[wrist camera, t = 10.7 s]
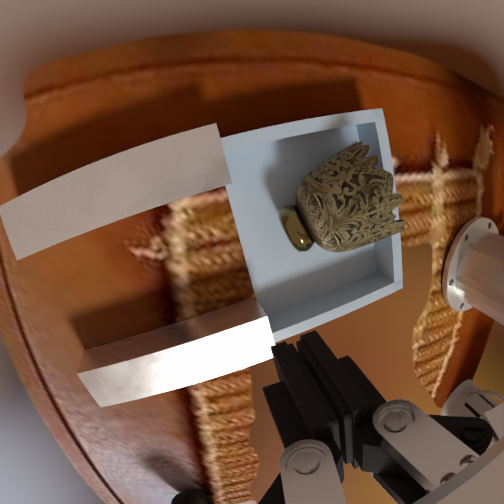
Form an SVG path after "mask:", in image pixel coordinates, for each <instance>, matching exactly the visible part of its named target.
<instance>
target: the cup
mask: <svg viewBox="0 0 504 504" xmlns="http://www.w3.org/2000/svg"><path fill="white" fill-rule="evenodd" d="M357 142H358V141H355V142H353V144H352V145H349V146H348V147H346V148H345V149H343V150H341V151H340V152H338V153H337V154H335V155H334V156H332V157H330V158H329V159H327V160H326V161H324V162H323V163H321V164H320V165H318V166H317V167H316V168H314V169H313V170H312V171H310V172H309V173H308V174H307V175H306V176H305V177H304V178H303V179H302V180H301V182H300V183H299V185H298V187H297V190H296V195H295V200H296V205H292V204H291V205H285V206H283V208H282V209H281V210H280V211H279V214H278V218H279V221H280V224H281V226H282V228H283V230H284V232H285V234H286V236H287V238H288V240H289V242H290V243H291V245H292V247H293V248H294V249H295V250H296V251H298V252H306V251H308V250H310V249H311V247H312V246H313V245H314V243H316V244H317V245H319V246H320V247H321V248H323V249H324V250H327V251H330V252H346V251H350V250H354V249H357V248H360V247H363V246H366V245H368V244H371V243H374V242H376V241H379V240H381V239H384V238H387V237H389V236H392V235H394V234H397V233H399V232H403V231H404V229H403V228H402V227H403V226H404V225H405V224H406V222H405V221H404V220H403V219H402V220H395V218H396V217H397V216H395V214H394V213H393V209H394V208H395V209H396V208H397V207H398V206H400V205H401V203H402V200H403V198H402V196H401V195H399V194H397V193H394V194H392V193H393V184H394V179H393V175H392V174H391V173H390V172H388V171H386V170H383V169H378V168H377V167H376V166H375V167H376V168H375V167H374V165H377V164H378V155H377V154H375V155H372V156H369V157H365V156H366V155H367V153H368V151H369V145H361V144H363V141H361V142H358V143H357ZM395 209H394V210H395Z"/></svg>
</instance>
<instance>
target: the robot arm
mask: <svg viewBox="0 0 504 504" xmlns="http://www.w3.org/2000/svg"><path fill="white" fill-rule="evenodd" d="M442 289H443V296H444V299H445V301H446V303H447V304H448V305H449V306H450V307H451V308H453V309H454V310H456V311H466V310H468V309H470V308H472V307H474V308H476V309H478V310H479V311H481V312H483V313H484V314H486V315H488V316H489V317H491V318H493V319H494V320H496V321H498V322H499V323H501V324H503V325H504V236H501V235H499V232H498V229H497V227H496V225H495V223H494V222H493V221H492V220H491V219H489V218H486V217H482V216H479V217H475V218H473V219H471V220H469V221H468V222H467V223H466V224H465V225H464V226H463V227H462V228H461V230H460V231H459V233H458V234H457V236H456V237H455V239H454V241H453V243H452V245H451V247H450V250H449V252H448V255H447V258H446V262H445V266H444V271H443V279H442ZM300 339H301V340H299V341H297V342H296V345H297V349H298V352H297V350H296V348H295V347H294V345H293V344H292V343H291V344H288V345H287V343H286V342H282V343H279V344H276V345H273V346H270V348H271V352H272V356H273V359H274V363H275V366H276V369H277V373H278V377H279V380H280V382H278V383H275V384H272V385H269V386H266V387H263V388H262V389H263V392H264V395H265V398H266V401H267V403H268V406H269V409H270V412H271V414H272V417H273V420H274V422H275V425H276V427H277V430H278V432H279V435H280V437H281V440H282V443H283V445H284V448H285V450H284V451H283V453H282V455H281V457H280V463H279V466H280V473H279V475H278V476H277V478H276V479H275V481H274V482H273V484H272V485H271V487H270V488H269V489H268V491H267V492H266V494H265V495H264V496H263V498H262V499H261V501H260V502H259V503H258V504H347V502H346V499H345V495H344V492H343V489H342V486H341V484H342V482H343V480H344V471H343V461H344V462H345V464H348V463H351V464H352V466H353V467H354V469H356V468H358V467H360V468H361V470H362V471H366V472H370V473H371V474H372V476H373V477H374V479H375V480H376V481H377V482H378V483H379V484H380V485H381V486H382V487H383V488H384V489H385V490H386V491H387V493H388V494H389V495H390V496H391V497H392V498H393V499H394V500H395V501H396V502H397V503H398V504H504V402H503V403H502V404H500V405H498V406H496V407H494V408H492V409H491V410H489V411H487V412H485V413H484V414H483V416H482V417H480V418H478V417H460V416H440V415H427V414H426V413H425V412H423V411H422V410H421V409H420V408H418V407H417V406H416V405H415V404H413V403H411V402H410V401H407V400H403V399H398V400H397V399H395V400H391V401H388V402H386V401H385V399H384V398H383V397H382V396H381V394H380V393H379V392H378V391H377V390H376V388H375V387H374V386H373V385H372V383H371V382H370V381H369V380H368V379H367V377H366V376H365V375H364V374H363V372H362V371H361V370H360V369H359V367H358V366H357V365H356V364H355V363H354V361H353V360H352V359H351V358H350V357H349V356H345V357H342V358H340V359H337V358H336V356H335V355H334V354H333V353H332V351H331V350H330V349H329V347H328V346H327V345H326V344H325V342H324V341H323V339H322V338H321V337H320V335H319V334H318V333H317V332H316V331H312V332H309V333H307V334H304V335H301V336H300Z"/></svg>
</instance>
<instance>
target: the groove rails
mask: <svg viewBox="0 0 504 504" xmlns="http://www.w3.org/2000/svg"><path fill="white" fill-rule="evenodd" d="M229 184H232V181H231V177H230V173H229V170H228V166H227V162H226V158H225V154H224V151H223V147H222V143H221V139H220V135H219V132H218V128H217V124H216V123H214V124H211V125H207V126H203V127H199V128H196V129H192V130H188V131H185V132H181V133H178V134H175V135H171V136H168V137H165V138H162V139H158V140H155V141H152V142H149V143H146V144H143V145H140V146H137V147H134V148H131V149H129V150H126V151H123V152H120V153H117V154H115V155H112V156H109V157H107V158H104V159H101V160H99V161H96V162H94V163H91V164H89V165H86V166H84V167H81V168H79V169H77V170H74V171H72V172H70V173H67V174H65V175H63V176H60V177H58V178H56V179H54V180H52V181H49V182H47V183H45V184H43V185H41V186H39V187H37V188H35V189H32V190H30V191H28V192H26V193H24V194H22V195H20V196H18V197H16V198H15V199H13V200H11V201H9V202H7V203H5V204H3V205H1V206H0V215H1V218H2V221H3V224H4V227H5V230H6V233H7V235H8V238H9V241H10V244H11V246H12V249H13V251H14V254H15V256H16V259H17V260H19V259H22V258H24V257H26V256H29V255H31V254H33V253H36V252H38V251H40V250H43V249H45V248H48V247H50V246H52V245H55V244H57V243H60V242H62V241H65V240H67V239H70V238H72V237H75V236H77V235H80V234H83V233H85V232H88V231H90V230H93V229H96V228H98V227H101V226H104V225H106V224H109V223H112V222H115V221H117V220H120V219H123V218H126V217H129V216H131V215H134V214H137V213H140V212H143V211H146V210H149V209H152V208H155V207H158V206H161V205H164V204H167V203H170V202H173V201H176V200H179V199H182V198H186V197H189V196H192V195H195V194H198V193H202V192H205V191H208V190H212V189H215V188H218V187H222V186H225V185H229ZM273 345H275V343H274V339H273V335H272V332H271V328H270V324H269V320H268V317H267V315H266V313H265V311H264V310H263V308H262V307H261V305H260V303H259V302H258V300H257V298H256V297H252V298H249V299H246V300H244V301H241V302H238V303H235V304H232V305H229V306H226V307H223V308H220V309H217V310H214V311H211V312H208V313H205V314H202V315H199V316H195V317H192V318H189V319H186V320H183V321H180V322H177V323H173V324H170V325H167V326H164V327H161V328H157V329H154V330H151V331H148V332H144V333H141V334H138V335H134V336H131V337H128V338H124V339H121V340H117V341H114V342H111V343H107V344H104V345H100V346H97V347H93V348H89V349H86V350H85V351H84V354H83V357H82V360H81V363H80V366H79V369H78V372H77V375H78V376H79V378H80V379H81V381H82V382H83V384H84V385H85V387H86V388H87V389H88V391H89V392H90V394H91V395H92V396H93V398H94V399H95V401H96V402H97V403H98V405H99V406H100V407H105V406H110V405H114V404H119V403H123V402H128V401H132V400H136V399H140V398H144V397H148V396H152V395H156V394H160V393H163V392H167V391H171V390H174V389H178V388H181V387H185V386H188V385H192V384H195V383H198V382H202V381H205V380H208V379H211V378H215V377H218V376H221V375H224V374H227V373H230V372H233V371H236V370H239V369H242V368H245V367H248V366H250V365H253V364H256V363H259V362H262V361H264V360H267V359H270V358H273V356H272V352H271V348H270V346H273Z"/></svg>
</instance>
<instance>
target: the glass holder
mask: <svg viewBox="0 0 504 504" xmlns="http://www.w3.org/2000/svg"><path fill="white" fill-rule="evenodd" d="M485 394H489V395H491V396H494V397H496V398H498V399H499V400H501V401H502V402H504V397H503V396H501V395H500V394H498V393H496V392H493V391H490V390H480V389H478V388H477V387H476V386H475V385H474V383H473V381H472V380H471V379H468V380H466V381H464V382H463V383H461V384H460V385H459V386H458V387H457V388H456V389H455V390H454V391H453V392H452V393H451V395H450V396H449V397H448V399H447V400H446V401H445V403H444V405H443V407H442V409H441V415H442V416H460V417H478V418H480V417H482V416H483V414H484V413H485V412H487V411H489V410H491V409H492V408H494V407H496V406H498V405H497V404H496V403H495V402H494V401H493V400H491V399H490V398H489V397H488V396H486V395H485Z"/></svg>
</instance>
